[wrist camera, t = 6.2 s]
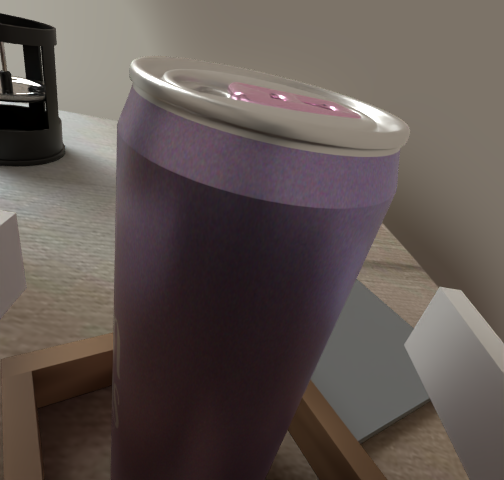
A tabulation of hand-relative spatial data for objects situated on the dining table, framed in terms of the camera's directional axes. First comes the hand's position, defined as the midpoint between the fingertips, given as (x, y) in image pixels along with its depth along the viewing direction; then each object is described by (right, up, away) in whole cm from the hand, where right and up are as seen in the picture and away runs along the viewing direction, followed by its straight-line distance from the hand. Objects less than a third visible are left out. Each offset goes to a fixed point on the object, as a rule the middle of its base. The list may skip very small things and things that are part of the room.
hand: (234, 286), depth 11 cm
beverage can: (-2, -8, +4) cm, 9 cm away
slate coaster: (+6, -5, +12) cm, 14 cm away
